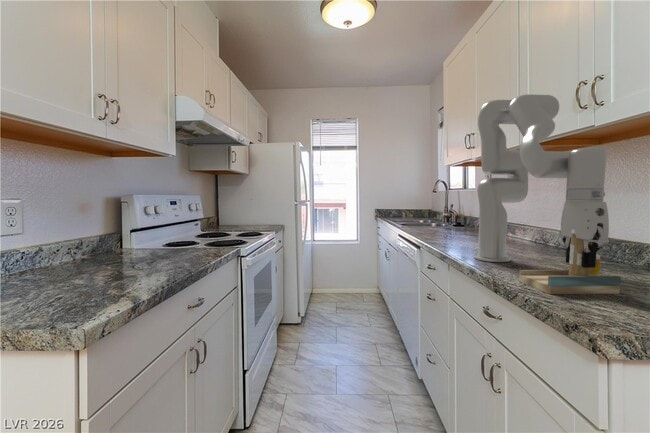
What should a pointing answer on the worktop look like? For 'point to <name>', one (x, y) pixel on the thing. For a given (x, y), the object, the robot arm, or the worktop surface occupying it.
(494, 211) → the robot arm
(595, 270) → the supplement bottle
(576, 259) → the sprinkles bottle
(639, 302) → the worktop surface
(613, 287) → the shelf board
